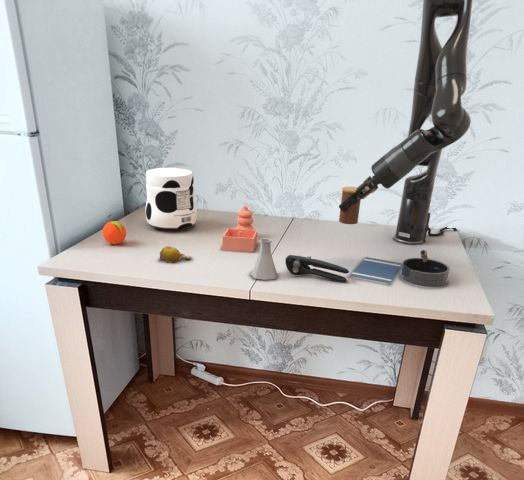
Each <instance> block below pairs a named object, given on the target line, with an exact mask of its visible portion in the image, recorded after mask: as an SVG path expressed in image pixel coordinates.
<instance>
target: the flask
mask: <svg viewBox="0 0 524 480" xmlns="http://www.w3.org/2000/svg"><path fill="white" fill-rule="evenodd" d="M272 241H273V239H271V238H268V237H261V238H260V239H259V243H260V247H259V252H258V256H257V258H256V261H255V264H254V266H253V268H252V270H251V274H250V275H251V276H252V277H253V278H254V279H256V280H264V281H266V280H267V281H268V280H274V279H275V280H276V278H277V276H278V272H277V268H276V265H275V263H274V259H273V255H272V249H271V244H272Z"/></svg>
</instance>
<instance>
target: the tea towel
mask: <svg viewBox="0 0 524 480" xmlns="http://www.w3.org/2000/svg"><path fill="white" fill-rule="evenodd" d="M402 265H403V262H395V261H391V260H385V259H379V258H374V257H368V256H365V258H363V260H362V261H361V262H360V263H359V265H357V267H356V268H355V269H354V270H353V271H352V272H351V274H350V275H349V277H351V278H352V277H353V278H358V279H363V280H368V281H373V282H377V283H378V282H379V283H384V284H388V285H390V283H391V282H392V280H393V279H394V278H395V276H396V275H397V273H398V272H399V270H400V268H402Z"/></svg>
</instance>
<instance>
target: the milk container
mask: <svg viewBox="0 0 524 480" xmlns="http://www.w3.org/2000/svg"><path fill="white" fill-rule="evenodd" d="M193 173H194V172H193V171H192V170H189V169H186V168H179V167H158V168H157V167H156V168H151V169H147V170H146V171H145V190H146V204H145V208H144V214H145V219H146V222H147V224H148V226H150V227H152V228H154V229H159V230H163V231H180V230H185V229H189V228H191V227H193V226H194V225H196V222H197V218H198V209H197V205H196V202H195V184H194V182H195V181H194V174H193Z"/></svg>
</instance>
